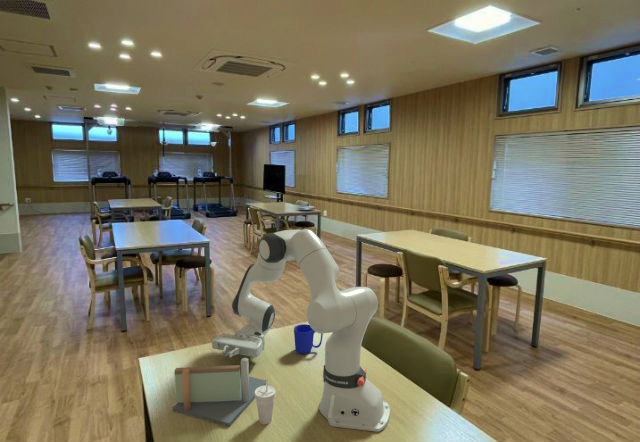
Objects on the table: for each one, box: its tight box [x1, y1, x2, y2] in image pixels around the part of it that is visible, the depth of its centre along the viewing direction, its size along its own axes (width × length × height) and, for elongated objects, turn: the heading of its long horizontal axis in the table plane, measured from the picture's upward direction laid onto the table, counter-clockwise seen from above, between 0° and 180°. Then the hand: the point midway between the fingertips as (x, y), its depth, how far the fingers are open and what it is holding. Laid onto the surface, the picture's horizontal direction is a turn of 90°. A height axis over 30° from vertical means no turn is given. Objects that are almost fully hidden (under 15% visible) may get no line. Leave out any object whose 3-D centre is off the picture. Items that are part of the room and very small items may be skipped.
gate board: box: [172, 357, 266, 428], centre depth 127 cm, size 21×24×15 cm
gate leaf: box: [174, 364, 241, 404], centre depth 123 cm, size 20×2×11 cm, turn 96°
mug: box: [293, 323, 324, 355], centre depth 159 cm, size 8×12×10 cm
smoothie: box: [254, 377, 277, 425], centre depth 116 cm, size 6×6×14 cm
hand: (226, 354), depth 142 cm, fingers closed
